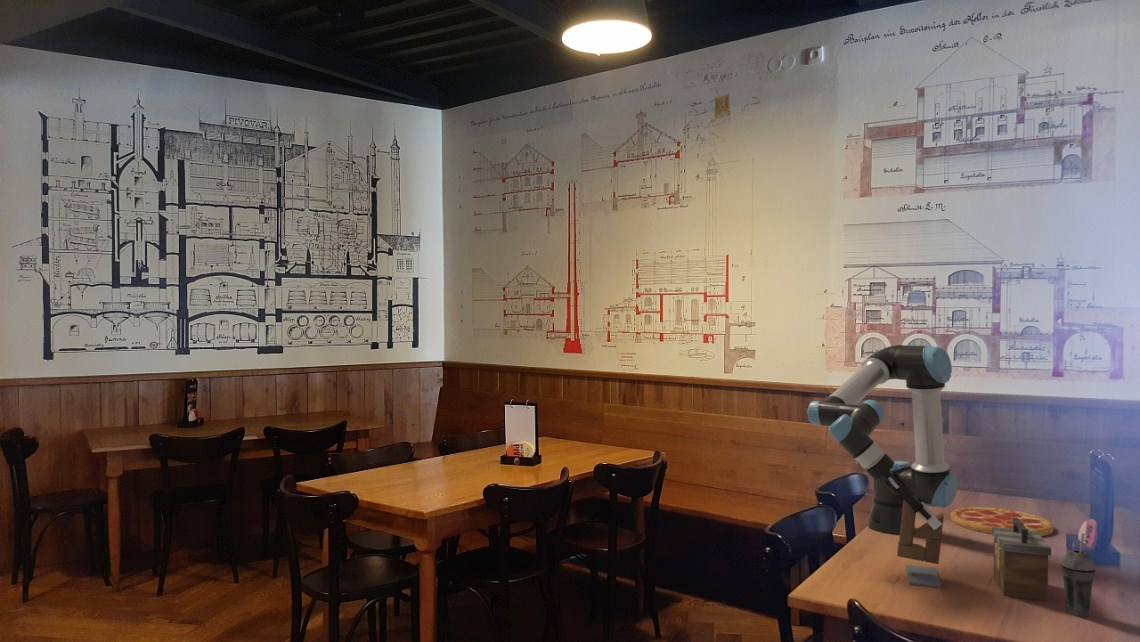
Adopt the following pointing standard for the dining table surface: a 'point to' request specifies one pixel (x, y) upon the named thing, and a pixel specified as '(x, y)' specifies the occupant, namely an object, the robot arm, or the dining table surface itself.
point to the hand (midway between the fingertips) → (937, 524)
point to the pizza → (998, 519)
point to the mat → (923, 576)
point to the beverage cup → (1078, 581)
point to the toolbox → (1021, 562)
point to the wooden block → (932, 536)
